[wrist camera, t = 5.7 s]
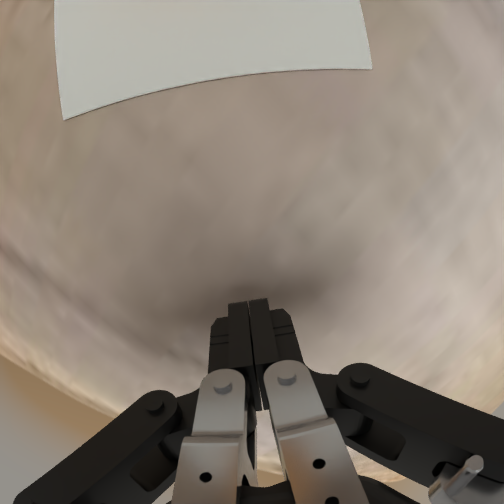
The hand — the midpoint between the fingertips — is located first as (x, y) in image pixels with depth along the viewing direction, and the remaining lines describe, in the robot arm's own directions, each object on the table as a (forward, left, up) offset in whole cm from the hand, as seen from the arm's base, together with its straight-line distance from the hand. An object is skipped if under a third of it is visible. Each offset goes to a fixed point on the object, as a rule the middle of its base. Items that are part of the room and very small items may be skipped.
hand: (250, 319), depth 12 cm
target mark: (-15, 0, -2) cm, 15 cm away
